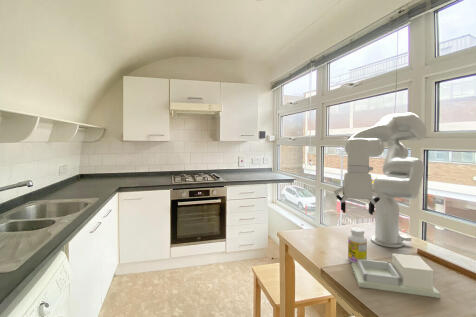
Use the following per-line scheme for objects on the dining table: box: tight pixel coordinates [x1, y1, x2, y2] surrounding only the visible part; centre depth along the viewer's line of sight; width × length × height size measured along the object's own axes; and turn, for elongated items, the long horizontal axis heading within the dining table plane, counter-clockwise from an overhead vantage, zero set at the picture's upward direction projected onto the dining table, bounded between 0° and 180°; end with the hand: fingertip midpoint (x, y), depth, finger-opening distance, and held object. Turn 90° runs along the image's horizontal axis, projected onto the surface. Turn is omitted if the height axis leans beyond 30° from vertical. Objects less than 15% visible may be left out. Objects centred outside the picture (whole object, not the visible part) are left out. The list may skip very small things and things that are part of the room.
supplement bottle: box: [347, 227, 368, 264], centre depth 93 cm, size 7×7×13 cm
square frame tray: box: [351, 253, 441, 299], centre depth 79 cm, size 22×13×8 cm, turn 74°
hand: (357, 212), depth 92 cm, fingers open, 9 cm apart
